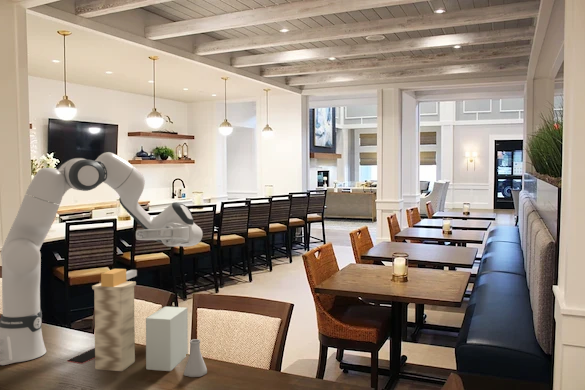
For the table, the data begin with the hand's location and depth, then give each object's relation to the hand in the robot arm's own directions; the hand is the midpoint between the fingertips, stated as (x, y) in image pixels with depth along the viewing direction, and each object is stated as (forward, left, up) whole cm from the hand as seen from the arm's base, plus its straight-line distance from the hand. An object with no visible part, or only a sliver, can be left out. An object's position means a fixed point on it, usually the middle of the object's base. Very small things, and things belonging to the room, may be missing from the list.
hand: (148, 233), depth 176 cm
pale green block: (+13, -13, -40) cm, 44 cm away
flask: (+25, -20, -40) cm, 51 cm away
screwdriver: (-2, -15, -14) cm, 20 cm away
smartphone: (-15, -12, -40) cm, 45 cm away
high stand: (-2, -19, -40) cm, 44 cm away
